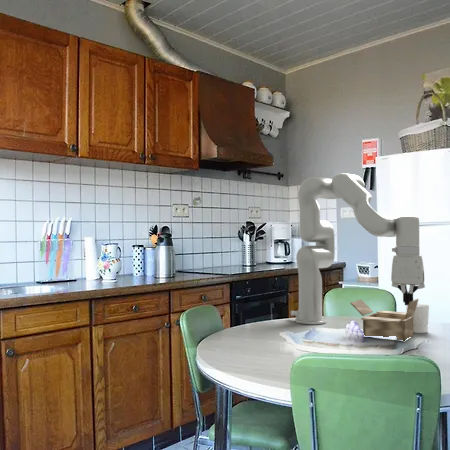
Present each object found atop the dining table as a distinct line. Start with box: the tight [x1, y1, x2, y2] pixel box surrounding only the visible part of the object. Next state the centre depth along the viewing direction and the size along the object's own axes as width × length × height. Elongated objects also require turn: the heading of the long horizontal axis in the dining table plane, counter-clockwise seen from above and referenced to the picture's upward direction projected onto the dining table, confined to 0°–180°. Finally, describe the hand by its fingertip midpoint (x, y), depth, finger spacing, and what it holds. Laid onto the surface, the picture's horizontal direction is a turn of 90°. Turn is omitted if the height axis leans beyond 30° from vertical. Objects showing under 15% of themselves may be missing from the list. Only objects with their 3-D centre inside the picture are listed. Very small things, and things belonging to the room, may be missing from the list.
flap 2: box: [405, 298, 419, 319], centre depth 162 cm, size 1×11×6 cm, turn 145°
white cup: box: [405, 302, 430, 334], centre depth 177 cm, size 8×8×10 cm
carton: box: [360, 310, 415, 341], centre depth 166 cm, size 14×22×8 cm, turn 145°
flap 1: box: [350, 299, 374, 317], centre depth 172 cm, size 1×11×6 cm
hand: (408, 304), depth 163 cm, fingers closed
